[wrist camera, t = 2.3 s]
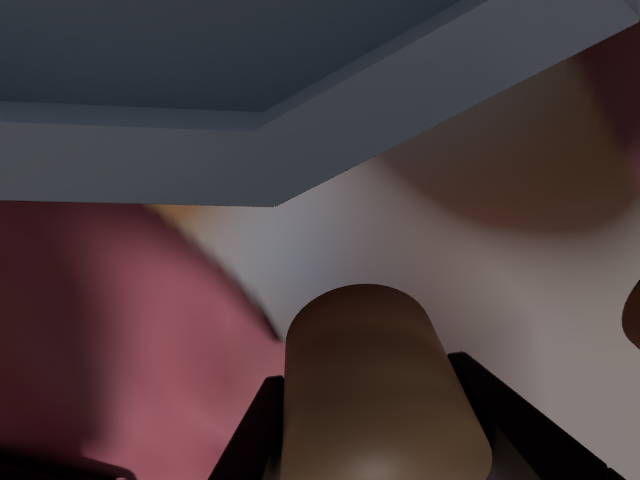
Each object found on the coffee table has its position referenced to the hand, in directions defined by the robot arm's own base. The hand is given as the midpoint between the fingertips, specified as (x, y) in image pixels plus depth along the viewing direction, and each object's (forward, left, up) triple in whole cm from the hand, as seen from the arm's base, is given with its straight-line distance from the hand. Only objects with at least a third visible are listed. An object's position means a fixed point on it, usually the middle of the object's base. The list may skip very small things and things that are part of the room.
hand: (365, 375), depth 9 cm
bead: (0, 0, -1) cm, 1 cm away
